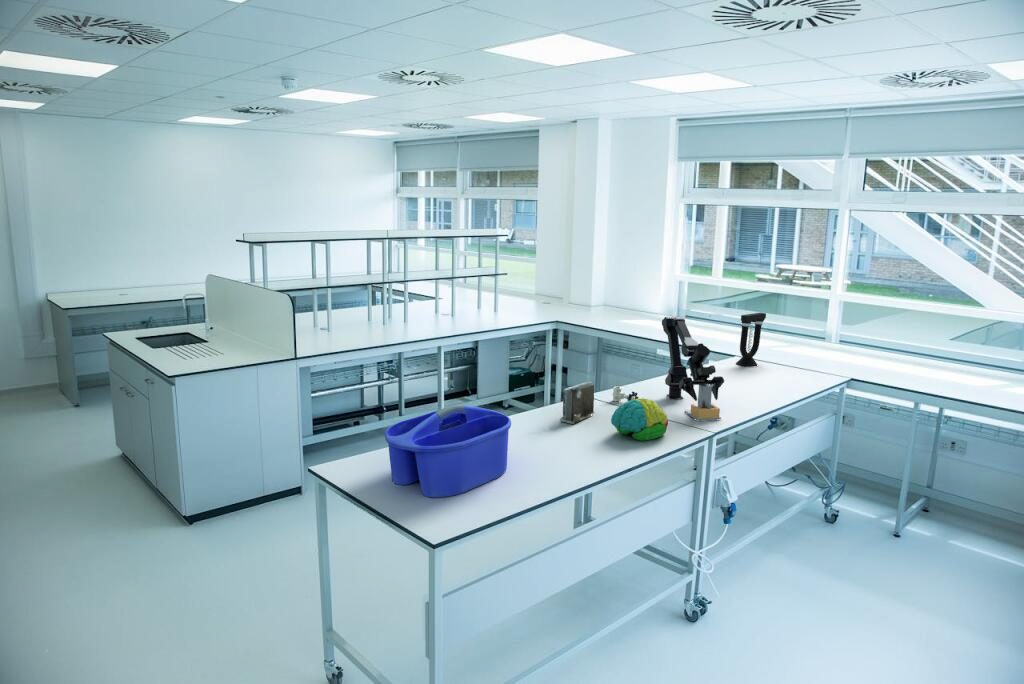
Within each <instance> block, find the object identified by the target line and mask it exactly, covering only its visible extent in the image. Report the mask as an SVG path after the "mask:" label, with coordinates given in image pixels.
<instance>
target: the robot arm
mask: <svg viewBox="0 0 1024 684" xmlns="http://www.w3.org/2000/svg"><path fill="white" fill-rule="evenodd" d="M661 326H662V329H663V332H664V333H665V334H666V335H667V340H668V349H669V350H668V351H669V359H670V367H669V369H668V371H667V372H668V374H667V376H666V377H665V379H664V381H665V382H664V383H665V385H666V386H668V394H667V393H666V395H667V396H668V397H669V398H670V400H683V399H684V397H683V396H682V391H685V392H686V393H687V394H688V395H689V396H690V397H691V398H692V399H693V400H695V401H696V402H698V396H697V393H696V391H695V386H699V384H709V385H711V386H712V395H713V397H714V399H715V400H716V401H717V400H719V390H720V388H721V386H722V385H723V384H724V383H725V379H724V377H723V376H713V377H712V378H711V379H709V378H710V376H712V375H713V374H715V373H716V372H717V371H716V367H715V365H714V364H713V365H709V366H704V364H703V363H704V362H705V361H706V360H707V358H708V357H709V355H710V354H711V350H710V348H708V347H707V346H706V345H704V343H702V342H701V343H698V342H697V341H696V340H695V339H694V338H692V335H691V333H690V331H689V329H688V326H687V324H686V320H685V318H683V317H678V316H664V318H663V319H662V320H661ZM679 340H680V341H679ZM680 342H681V348H680ZM681 353H682V355H683V356H684V357H685V358H688V359H687V362H686V366H684V365H683V364H682V358H681ZM687 366H688V367H689V369H690V373H689V375H690V376H688V372H687ZM667 396H666V397H667ZM669 398H668V399H669Z"/></svg>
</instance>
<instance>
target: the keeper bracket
mask: <svg viewBox="0 0 1024 684" xmlns="http://www.w3.org/2000/svg"><path fill="white" fill-rule="evenodd" d="M720 410H721V408H720V407H717V406H716V405H714V403H711V404H707V408H702V409H700V408H699V407H698V405H696V404H693V403H692V404H690V409H687V410H684V414H686V413H687V414H688V415H687V414H686V415H687V416H689V415H690V416H691V417H693V418H694V419H696V420H708V421H718V420H717V419H721V420H722V417H720V412H721V411H720ZM690 416H689V417H690ZM691 417H690V418H691ZM693 418H692V419H693ZM694 419H693V420H694ZM696 420H695V421H696Z"/></svg>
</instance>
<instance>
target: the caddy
mask: <svg viewBox="0 0 1024 684" xmlns="http://www.w3.org/2000/svg"><path fill="white" fill-rule="evenodd" d="M511 426H512V420H511V418H510V417H509V416H508V415H506V414H504V412H503V413H502V412H499V411H497V410H493V409H487V408H484V407H479V406H472V405H465V404H453V405H448V406H446V407H443V408H441V409H439V410H435V411H431V412H429V413H426V414H423V415H419V416H415V417H412V418H408V419H406V420H405V419H404V420H402V421H399V422H396V423H395V424H392V425H391V426H390V427H388V428H387V429H386V431H385V432H384V439H385V441H386V443H387V444H388V445H387V446H388V455H389V463H390V473H391V481H392V483H393V482H394V484H395V483H396V484H395V485H397V484H399V485H398V486H405V485H410V484H413V483H416V482H417V481H419V486H420V490H421V491H420V492H421V493H422V495H423V496H425V497H428V498H444V497H451V496H456V495H461V494H464V493H466V492H468V491H470V490H473V489H475V488H478V487H479V486H481V485H483V484H486V483H488V482H491V481H493V480H496V479H497V478H499V477H501V476H503V474H504V473H505V472H506V471H507V469H508V451H509V448H508V447H509V430H510V429H511Z"/></svg>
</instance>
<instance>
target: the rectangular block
mask: <svg viewBox="0 0 1024 684" xmlns="http://www.w3.org/2000/svg"><path fill="white" fill-rule="evenodd" d="M697 394H698V396H697V407H699V408H700V409H702V408H707V404H712V395H713V393H712V386H711V385H710V384H699V385H698V393H697Z"/></svg>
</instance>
